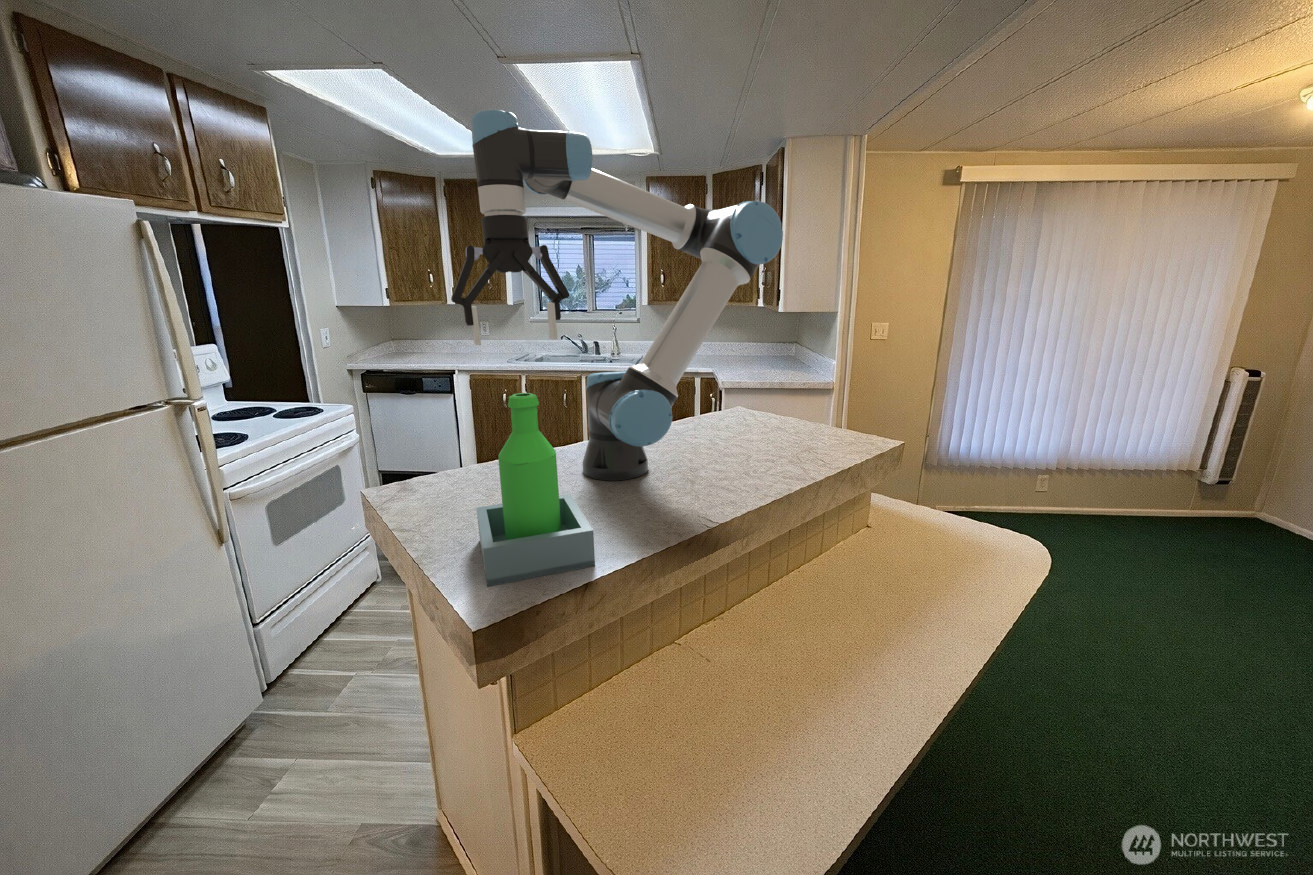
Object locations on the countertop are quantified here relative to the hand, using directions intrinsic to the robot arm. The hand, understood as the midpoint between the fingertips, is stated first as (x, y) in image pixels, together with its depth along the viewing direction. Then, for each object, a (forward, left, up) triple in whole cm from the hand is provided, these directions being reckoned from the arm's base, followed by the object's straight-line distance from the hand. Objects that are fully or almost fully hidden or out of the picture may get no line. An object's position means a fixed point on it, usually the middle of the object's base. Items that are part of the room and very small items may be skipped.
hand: (516, 341), depth 99 cm
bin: (+2, +20, -32) cm, 38 cm away
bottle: (+2, +20, -31) cm, 37 cm away
